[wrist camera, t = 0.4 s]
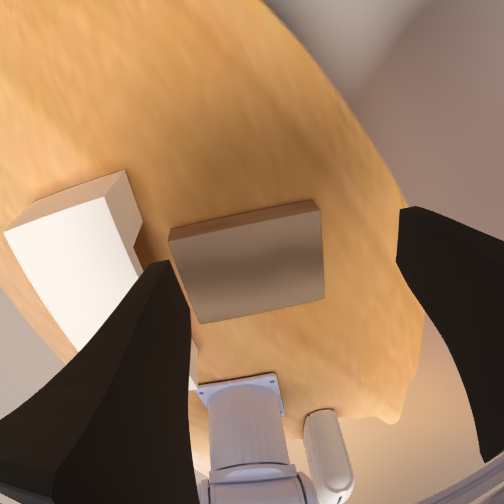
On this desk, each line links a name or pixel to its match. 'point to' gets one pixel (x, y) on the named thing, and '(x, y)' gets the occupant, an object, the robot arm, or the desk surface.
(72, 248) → the white shelf
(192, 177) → the desk surface
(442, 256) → the robot arm
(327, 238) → the desk surface
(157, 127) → the desk surface
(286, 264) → the walnut panel
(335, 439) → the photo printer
